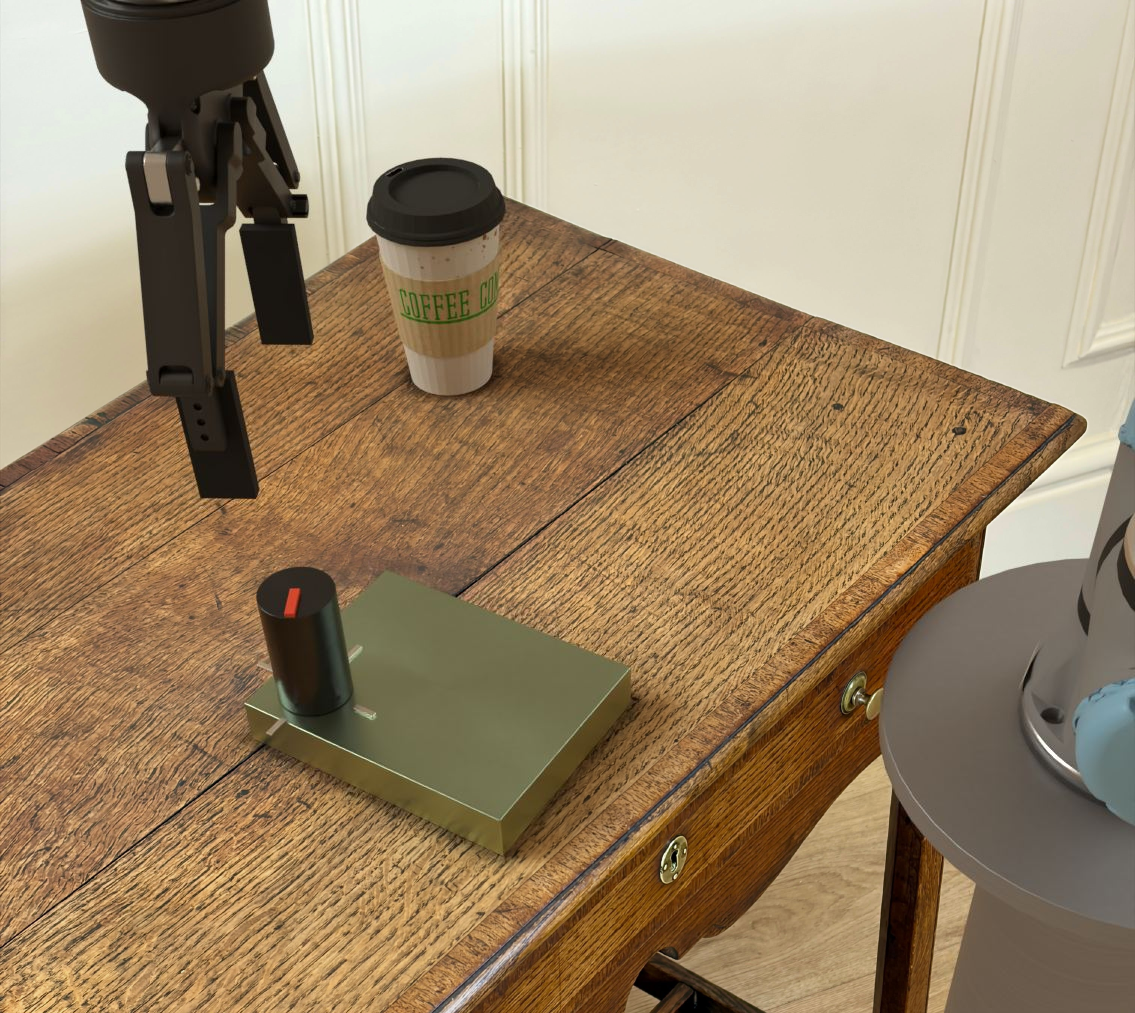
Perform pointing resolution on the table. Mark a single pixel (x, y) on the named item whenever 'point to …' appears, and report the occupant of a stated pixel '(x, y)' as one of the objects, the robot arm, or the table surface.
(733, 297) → the table surface
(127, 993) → the table surface
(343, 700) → the knob
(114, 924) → the table surface
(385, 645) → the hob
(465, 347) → the coffee cup
